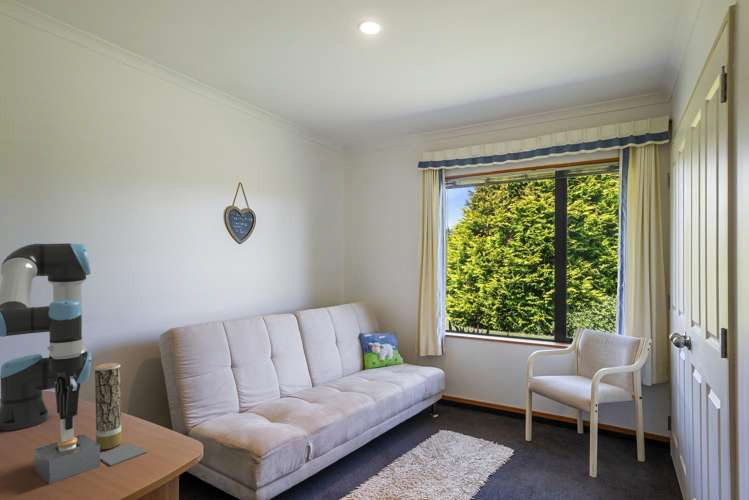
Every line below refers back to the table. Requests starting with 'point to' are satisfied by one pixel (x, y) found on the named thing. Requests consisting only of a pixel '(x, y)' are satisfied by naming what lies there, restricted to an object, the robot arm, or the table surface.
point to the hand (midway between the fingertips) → (67, 439)
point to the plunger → (67, 444)
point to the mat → (121, 454)
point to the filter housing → (66, 459)
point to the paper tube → (108, 405)
